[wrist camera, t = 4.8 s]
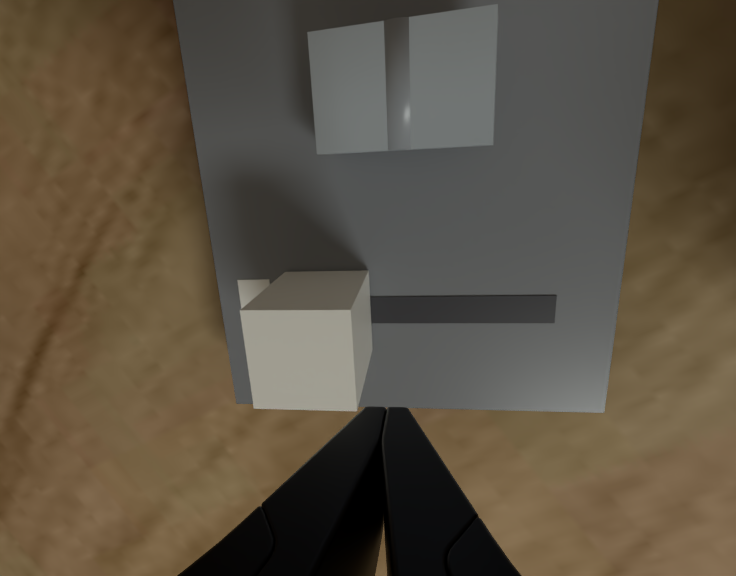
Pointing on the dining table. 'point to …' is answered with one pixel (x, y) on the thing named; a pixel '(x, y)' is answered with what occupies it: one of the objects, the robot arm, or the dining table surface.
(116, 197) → the dining table surface
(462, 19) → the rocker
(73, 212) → the dining table surface
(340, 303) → the off-white cube
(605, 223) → the switch console
